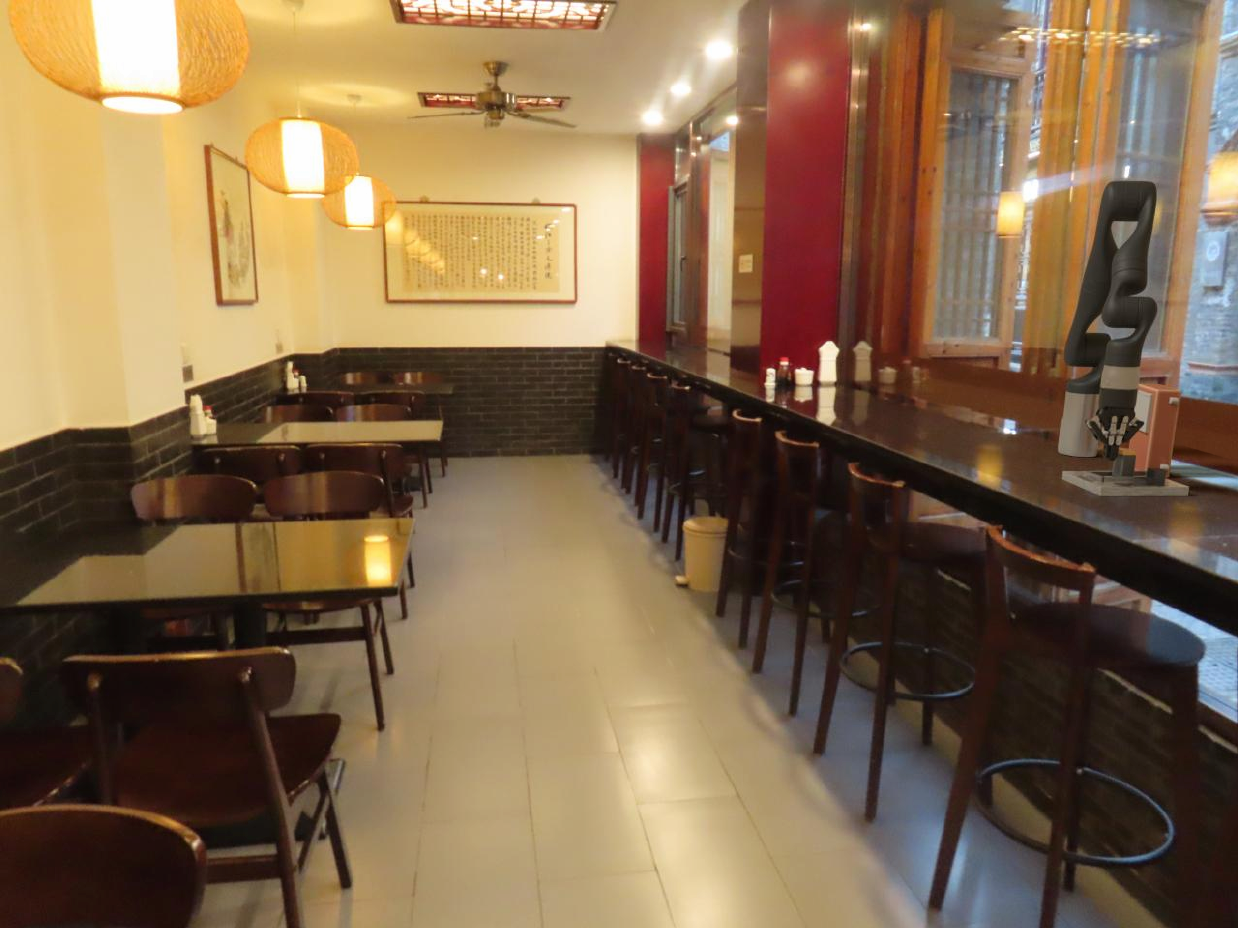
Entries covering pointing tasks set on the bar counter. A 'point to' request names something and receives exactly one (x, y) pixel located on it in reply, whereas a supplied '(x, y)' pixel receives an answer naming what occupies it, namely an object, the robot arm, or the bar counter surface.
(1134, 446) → the orange rectangular box
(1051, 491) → the bar counter surface
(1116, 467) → the block
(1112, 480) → the breaker board
